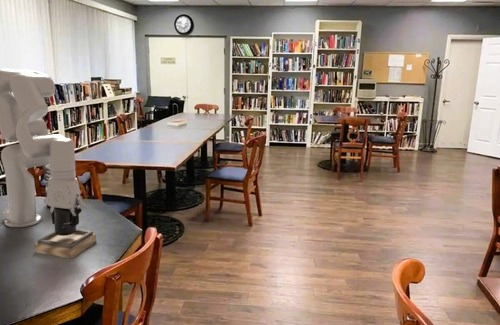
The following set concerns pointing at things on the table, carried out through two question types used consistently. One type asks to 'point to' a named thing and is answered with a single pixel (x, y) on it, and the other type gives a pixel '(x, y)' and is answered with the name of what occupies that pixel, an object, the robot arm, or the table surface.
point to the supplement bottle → (63, 222)
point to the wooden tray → (65, 243)
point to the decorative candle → (46, 175)
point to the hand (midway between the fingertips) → (65, 223)
